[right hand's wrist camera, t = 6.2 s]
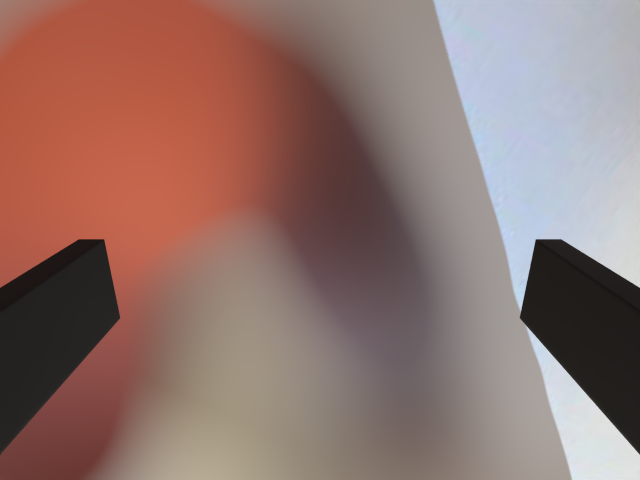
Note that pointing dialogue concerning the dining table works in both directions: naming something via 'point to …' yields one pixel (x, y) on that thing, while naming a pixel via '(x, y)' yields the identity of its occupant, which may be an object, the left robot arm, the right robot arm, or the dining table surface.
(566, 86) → the dining table surface
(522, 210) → the dining table surface
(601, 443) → the dining table surface
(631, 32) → the dining table surface
